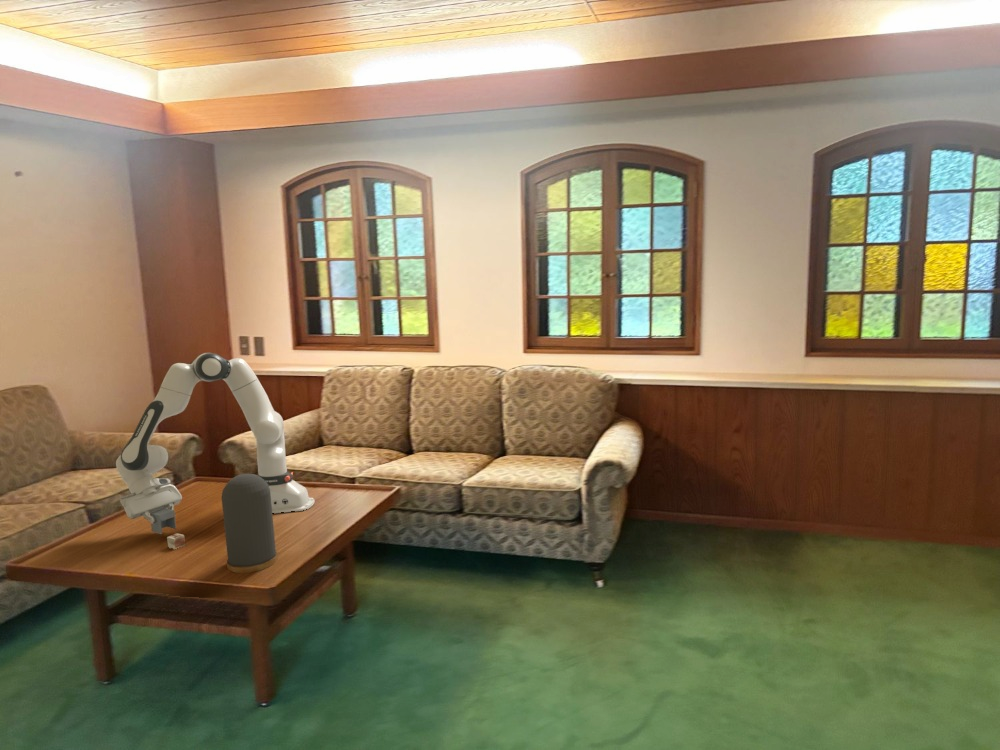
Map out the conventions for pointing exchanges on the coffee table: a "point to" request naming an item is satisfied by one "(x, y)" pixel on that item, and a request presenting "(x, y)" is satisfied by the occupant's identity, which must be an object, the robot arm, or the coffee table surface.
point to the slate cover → (163, 520)
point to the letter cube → (176, 541)
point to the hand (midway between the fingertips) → (164, 518)
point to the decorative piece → (248, 524)
